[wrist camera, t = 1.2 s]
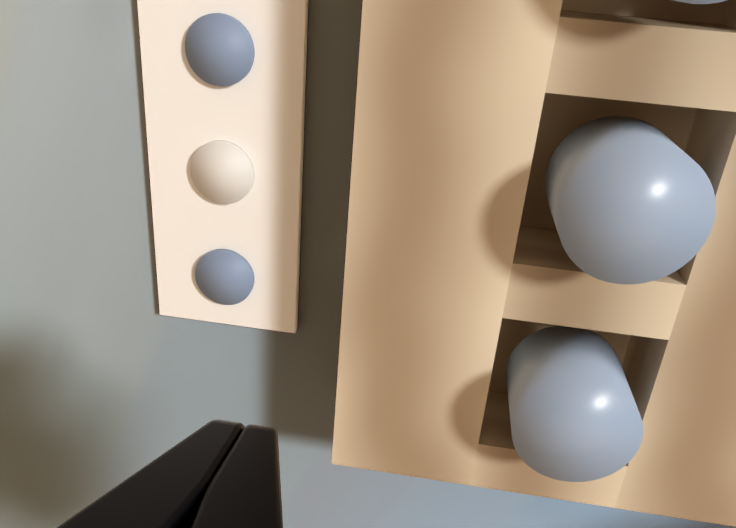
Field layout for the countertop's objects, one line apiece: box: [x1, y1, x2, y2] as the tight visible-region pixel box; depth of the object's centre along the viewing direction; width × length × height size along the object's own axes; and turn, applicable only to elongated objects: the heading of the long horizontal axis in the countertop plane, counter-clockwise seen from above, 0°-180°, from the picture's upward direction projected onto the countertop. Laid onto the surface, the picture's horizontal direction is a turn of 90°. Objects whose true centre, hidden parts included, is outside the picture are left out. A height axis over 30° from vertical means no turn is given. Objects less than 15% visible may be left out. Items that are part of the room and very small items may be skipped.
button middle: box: [545, 116, 716, 285], centre depth 14 cm, size 3×3×2 cm
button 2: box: [506, 326, 643, 482], centre depth 17 cm, size 3×3×2 cm
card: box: [137, 0, 308, 333], centre depth 18 cm, size 4×10×1 cm, turn 176°
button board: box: [332, 0, 736, 527], centre depth 16 cm, size 12×18×3 cm, turn 176°
